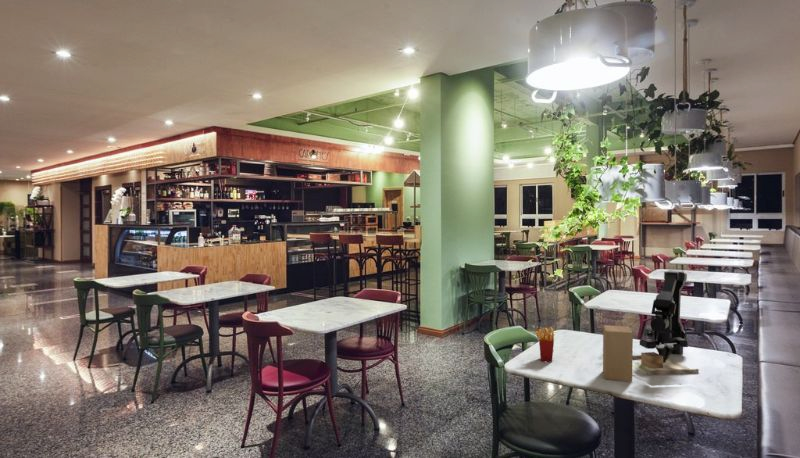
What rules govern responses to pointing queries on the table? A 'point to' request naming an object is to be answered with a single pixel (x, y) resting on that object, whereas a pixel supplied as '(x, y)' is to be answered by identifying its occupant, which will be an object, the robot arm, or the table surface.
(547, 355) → the french fries
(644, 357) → the walnut block
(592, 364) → the table surface
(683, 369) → the trap board
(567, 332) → the table surface
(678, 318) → the robot arm
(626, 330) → the wooden block
